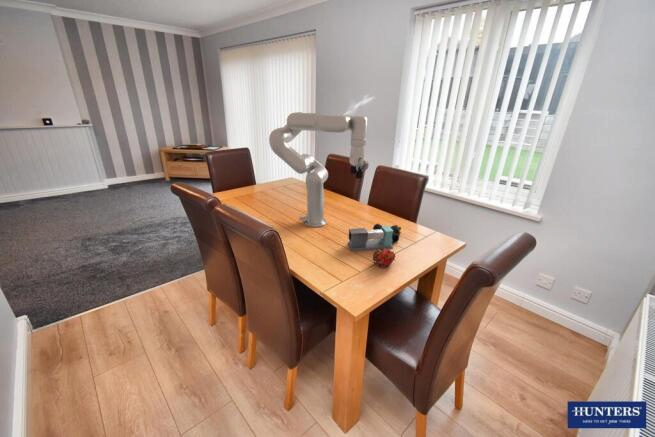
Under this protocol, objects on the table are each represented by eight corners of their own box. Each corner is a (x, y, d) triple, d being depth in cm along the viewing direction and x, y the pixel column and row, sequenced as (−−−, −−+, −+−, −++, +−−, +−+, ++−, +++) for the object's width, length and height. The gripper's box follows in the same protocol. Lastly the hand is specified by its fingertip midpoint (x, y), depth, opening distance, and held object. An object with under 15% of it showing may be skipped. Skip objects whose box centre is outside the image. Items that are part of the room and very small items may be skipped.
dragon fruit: (369, 269, 121) (391, 267, 126) (380, 267, 114) (403, 265, 119) (366, 250, 123) (388, 248, 128) (377, 247, 116) (399, 245, 121)
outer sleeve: (351, 248, 132) (351, 233, 129) (348, 243, 137) (349, 229, 134) (366, 247, 134) (368, 232, 131) (363, 242, 138) (364, 227, 135)
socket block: (384, 246, 135) (386, 231, 132) (380, 240, 141) (381, 226, 137) (391, 245, 136) (393, 231, 132) (386, 239, 141) (388, 225, 138)
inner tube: (360, 240, 133) (361, 233, 131) (358, 236, 136) (359, 230, 134) (390, 237, 135) (390, 231, 134) (387, 234, 138) (388, 228, 137)
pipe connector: (389, 220, 155) (408, 230, 143) (388, 228, 157) (407, 239, 145) (373, 224, 149) (392, 235, 138) (372, 233, 152) (391, 244, 140)
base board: (351, 252, 132) (351, 249, 131) (347, 244, 139) (347, 241, 138) (392, 248, 135) (392, 246, 135) (386, 240, 143) (386, 238, 142)
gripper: (346, 140, 144) (344, 172, 151) (355, 145, 129) (353, 180, 136) (360, 139, 146) (358, 171, 153) (370, 145, 130) (368, 180, 137)
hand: (355, 175), depth 144 cm, fingers open, 9 cm apart
